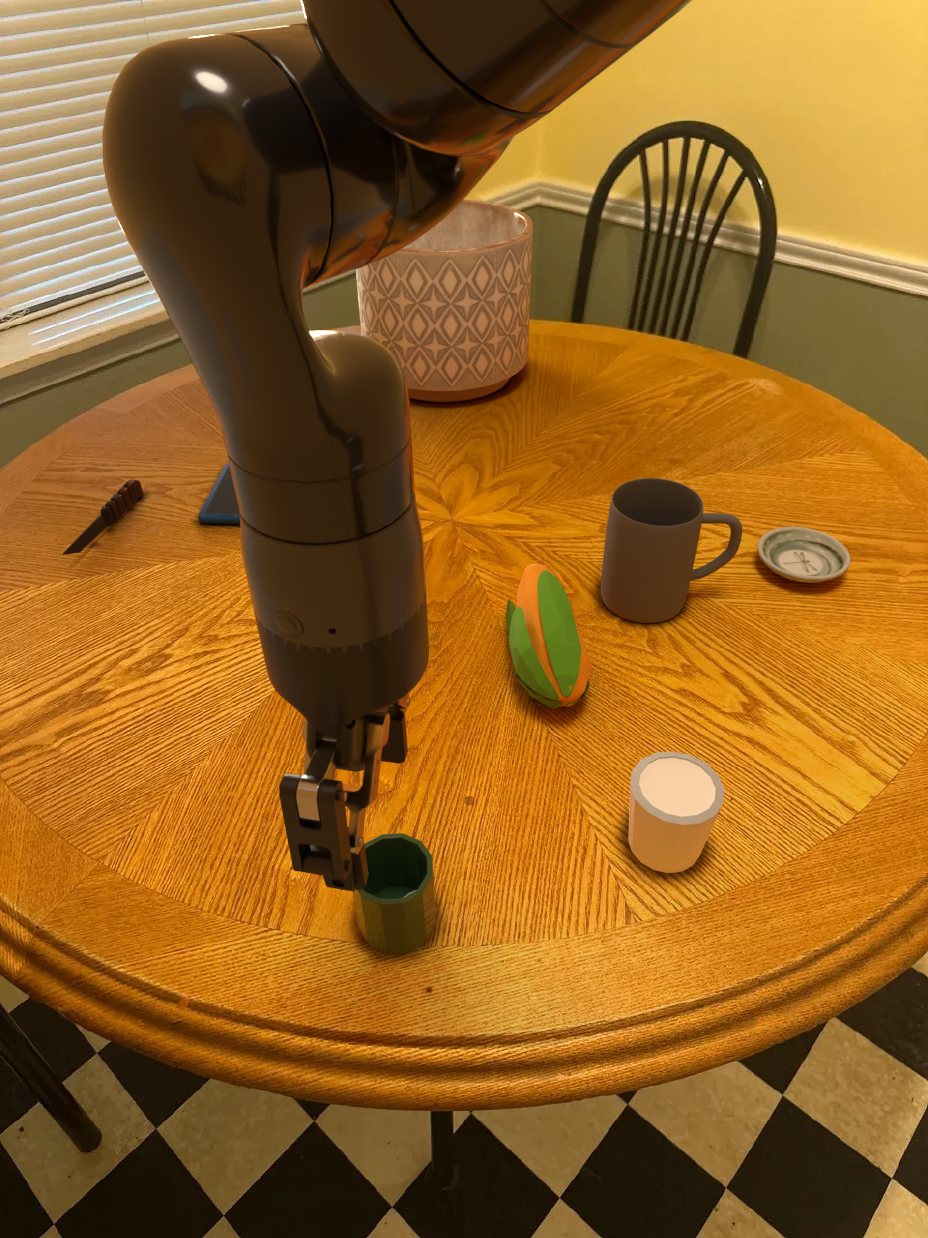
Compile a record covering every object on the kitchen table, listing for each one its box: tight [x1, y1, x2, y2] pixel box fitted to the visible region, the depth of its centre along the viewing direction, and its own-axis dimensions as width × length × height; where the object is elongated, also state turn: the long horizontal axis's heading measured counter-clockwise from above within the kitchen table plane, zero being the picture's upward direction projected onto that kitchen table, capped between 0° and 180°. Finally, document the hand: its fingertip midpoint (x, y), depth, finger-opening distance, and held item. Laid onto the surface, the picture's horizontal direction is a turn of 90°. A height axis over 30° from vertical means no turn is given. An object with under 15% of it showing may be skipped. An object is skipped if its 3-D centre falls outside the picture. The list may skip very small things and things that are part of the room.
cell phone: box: [197, 461, 240, 525], centre depth 108 cm, size 7×14×1 cm, turn 177°
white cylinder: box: [627, 750, 725, 874], centre depth 66 cm, size 7×7×7 cm
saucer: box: [756, 526, 851, 584], centre depth 94 cm, size 10×10×2 cm
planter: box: [355, 199, 534, 403], centre depth 128 cm, size 26×26×22 cm
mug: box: [600, 477, 743, 624], centre depth 88 cm, size 14×9×12 cm
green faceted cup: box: [352, 832, 437, 955], centre depth 61 cm, size 6×6×6 cm
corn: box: [505, 563, 593, 709], centre depth 83 cm, size 7×8×20 cm
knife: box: [61, 479, 144, 556], centre depth 101 cm, size 17×1×3 cm, turn 168°
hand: (369, 815), depth 48 cm, fingers open, 8 cm apart
